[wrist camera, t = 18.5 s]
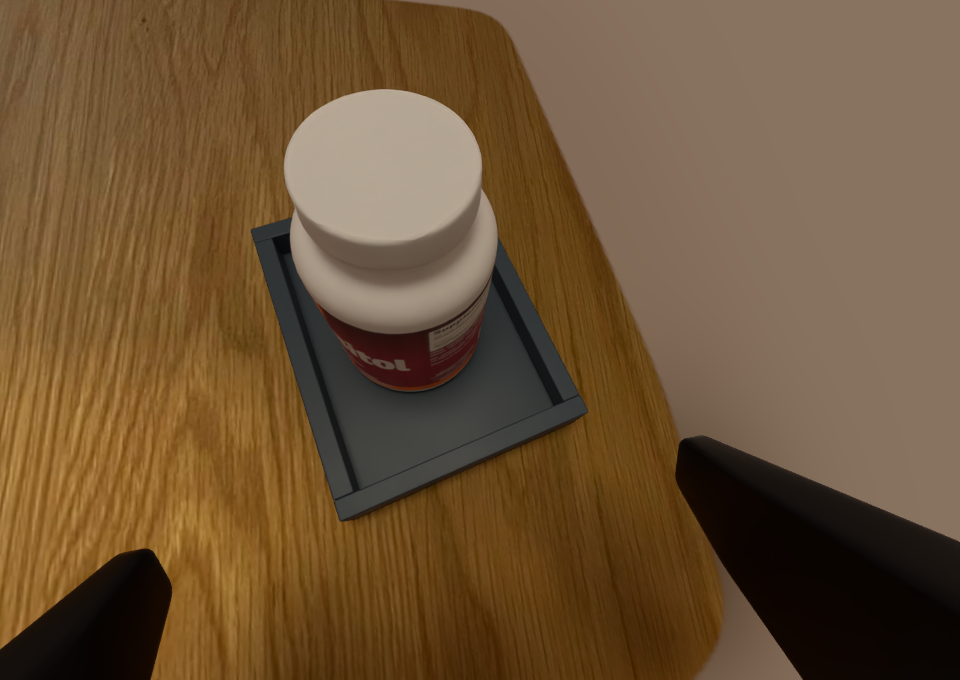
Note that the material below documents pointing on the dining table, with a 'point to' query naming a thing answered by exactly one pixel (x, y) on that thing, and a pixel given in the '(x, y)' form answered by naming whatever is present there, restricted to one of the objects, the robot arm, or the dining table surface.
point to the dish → (422, 414)
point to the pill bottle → (393, 233)
